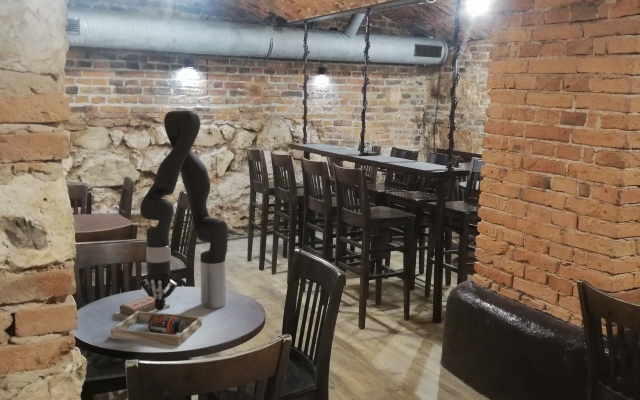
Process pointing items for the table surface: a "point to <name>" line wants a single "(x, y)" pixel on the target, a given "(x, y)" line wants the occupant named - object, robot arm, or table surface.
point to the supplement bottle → (165, 324)
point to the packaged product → (138, 307)
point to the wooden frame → (124, 334)
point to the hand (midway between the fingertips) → (159, 309)
